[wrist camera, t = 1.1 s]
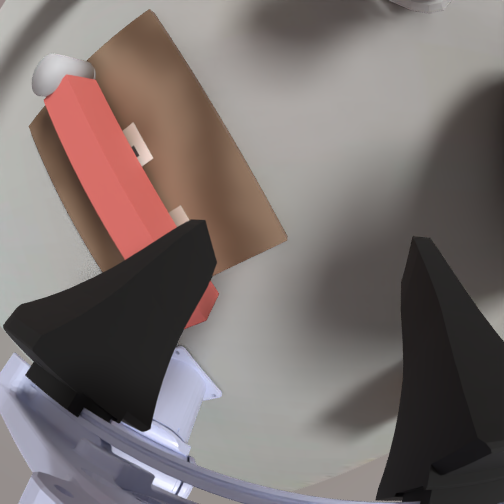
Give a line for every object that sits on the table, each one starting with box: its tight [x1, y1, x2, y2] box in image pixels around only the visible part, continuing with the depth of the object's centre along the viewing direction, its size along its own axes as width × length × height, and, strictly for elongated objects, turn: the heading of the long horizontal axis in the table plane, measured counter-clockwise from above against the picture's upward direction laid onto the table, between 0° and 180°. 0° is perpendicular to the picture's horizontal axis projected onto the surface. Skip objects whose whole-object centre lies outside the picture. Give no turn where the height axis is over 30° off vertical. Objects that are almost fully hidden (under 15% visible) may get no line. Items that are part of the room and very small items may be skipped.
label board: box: [29, 9, 287, 276], centre depth 22 cm, size 17×23×1 cm
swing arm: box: [32, 53, 219, 329], centre depth 19 cm, size 4×25×4 cm, turn 29°
